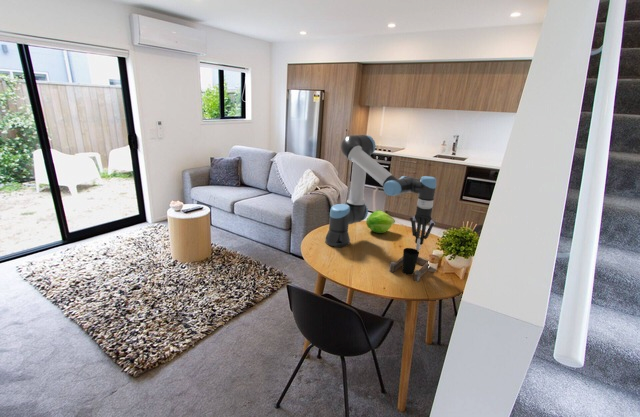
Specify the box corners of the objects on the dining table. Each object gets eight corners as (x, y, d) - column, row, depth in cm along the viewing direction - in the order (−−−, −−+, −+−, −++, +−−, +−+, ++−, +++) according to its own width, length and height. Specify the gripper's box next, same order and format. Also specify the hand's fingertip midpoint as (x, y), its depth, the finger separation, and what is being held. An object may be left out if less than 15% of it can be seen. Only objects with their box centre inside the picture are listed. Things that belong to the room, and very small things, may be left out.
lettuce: (398, 235, 209) (399, 218, 201) (369, 239, 207) (369, 222, 200) (390, 222, 221) (392, 206, 213) (363, 226, 219) (363, 210, 212)
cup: (413, 277, 155) (416, 256, 152) (398, 272, 159) (401, 251, 156) (417, 271, 162) (420, 250, 158) (403, 267, 166) (406, 246, 162)
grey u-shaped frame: (389, 271, 160) (390, 262, 159) (405, 258, 176) (406, 250, 174) (417, 281, 152) (419, 272, 150) (431, 267, 167) (433, 258, 166)
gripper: (409, 205, 158) (403, 248, 165) (435, 211, 151) (427, 255, 158) (415, 202, 164) (409, 243, 171) (439, 208, 157) (432, 250, 164)
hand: (418, 249), depth 164 cm, fingers closed
